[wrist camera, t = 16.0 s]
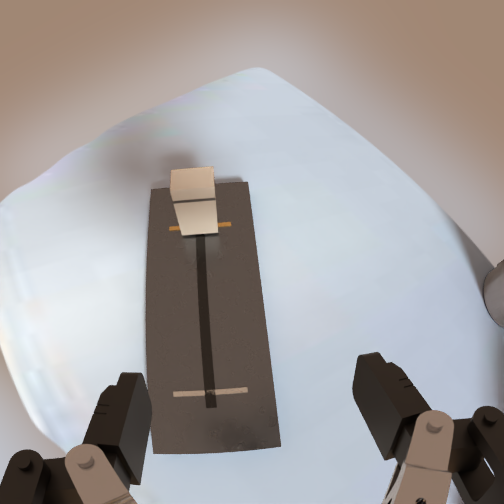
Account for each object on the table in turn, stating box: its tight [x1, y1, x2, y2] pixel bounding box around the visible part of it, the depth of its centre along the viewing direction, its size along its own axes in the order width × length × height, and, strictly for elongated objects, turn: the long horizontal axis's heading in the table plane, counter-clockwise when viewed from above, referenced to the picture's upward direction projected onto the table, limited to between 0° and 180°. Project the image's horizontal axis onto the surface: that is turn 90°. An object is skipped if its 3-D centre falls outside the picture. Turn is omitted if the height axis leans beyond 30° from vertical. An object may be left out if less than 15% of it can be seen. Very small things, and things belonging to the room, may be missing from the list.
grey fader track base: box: [146, 182, 281, 454], centre depth 33 cm, size 30×12×2 cm, turn 6°
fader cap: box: [170, 166, 218, 235], centre depth 32 cm, size 2×4×8 cm, turn 96°
